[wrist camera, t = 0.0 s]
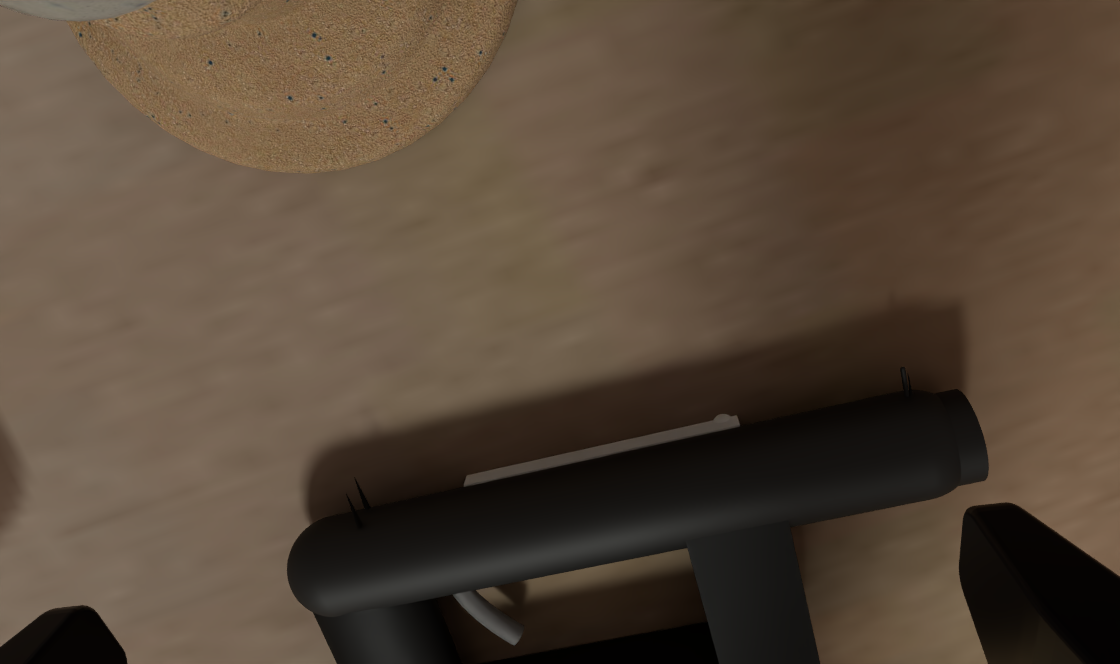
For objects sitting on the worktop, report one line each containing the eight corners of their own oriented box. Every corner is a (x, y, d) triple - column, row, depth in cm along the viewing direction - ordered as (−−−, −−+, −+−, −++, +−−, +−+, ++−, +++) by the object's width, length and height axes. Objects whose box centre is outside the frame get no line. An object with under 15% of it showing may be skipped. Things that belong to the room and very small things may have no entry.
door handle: (1039, 836, 26) (983, 369, 20) (428, 919, 29) (239, 534, 23) (993, 747, 29) (934, 322, 23) (446, 830, 32) (283, 472, 26)
